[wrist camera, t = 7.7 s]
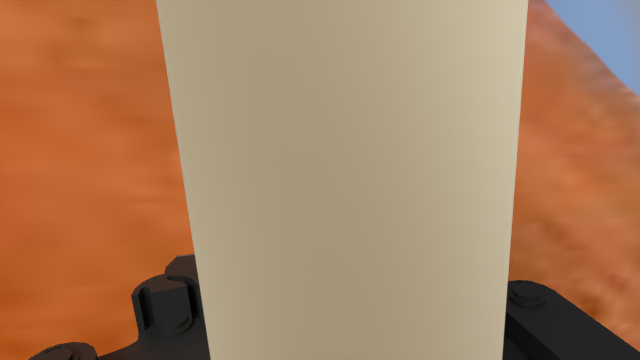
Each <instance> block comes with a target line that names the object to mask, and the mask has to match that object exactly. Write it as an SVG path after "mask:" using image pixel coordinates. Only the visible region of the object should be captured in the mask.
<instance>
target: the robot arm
mask: <svg viewBox="0 0 640 360" xmlns="http://www.w3.org/2000/svg"><path fill="white" fill-rule="evenodd" d="M131 297H132V302H133V307H134V312H135V316H136V321H137V326H138V331H139V335H138V340H137V341H136V342H134V343H133V344H131V345H129V346H127V347H125V348H122V349H120V350H117V351H115V352H112V353H109V354H106V355H103V356H100V357H97V353H96V351H95V349H94V347H92V346H90V345H88V344H86V343H79V342H71V343H65V344H59V345H55V346H53V347H49V348H47V349H45V350H43V351H41V352H40V353H38V354H36V355H35V356H33V357H31V358H30V359H29V360H211V357H210V351H209V344H208V338H207V331H206V324H205V318H204V311H203V305H202V298H201V292H200V285H199V279H198V272H197V265H196V259H195V254H194V255H186V256H178V257H176V258H175V259H174V260H173V261H172V262H171V263H170V264H169V265H168V266H167V267H166V270H165V273H164V274H162V275H158V276H155V277H152V278H150V279H148V280H146V281H144V282H142V283H141V284H140V285H139V286H137V287H136V288H135V289H134V291H133V293H132V295H131ZM502 360H640V352H639V351H637V350H636V349H635V348H633V347H632V346H630V345H629V344H628V343H626V342H625V341H624V340H622V339H621V338H619V337H618V336H617V335H615V334H614V333H612V332H611V331H610V330H608V329H607V328H606V327H604V326H603V325H601V324H600V323H599V322H597V321H596V320H594V319H593V318H592V317H590V316H589V315H587V314H586V313H585V312H583V311H582V310H581V309H579V308H578V307H576V306H575V305H574V304H572V303H571V302H569V301H568V300H567V299H565V298H564V297H562V296H561V295H560V294H558V293H557V292H556V291H554V290H552V289H550V288H548V287H547V286H545V285H542V284H538V283H535V282H533V281H527V280H525V281H524V280H515V281H508V285H507V299H506V312H505V326H504V340H503V354H502Z"/></svg>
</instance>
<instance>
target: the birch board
mask: <svg viewBox="0 0 640 360" xmlns="http://www.w3.org/2000/svg"><path fill="white" fill-rule="evenodd" d="M156 3H157V10H158V16H159V23H160V29H161V36H162V42H163V49H164V55H165V62H166V69H167V75H168V82H169V88H170V95H171V101H172V108H173V115H174V121H175V128H176V134H177V141H178V147H179V154H180V160H181V167H182V174H183V180H184V187H185V193H186V200H187V206H188V213H189V220H190V226H191V233H192V239H193V246H194V252H195V259H196V265H197V272H198V279H199V285H200V292H201V298H202V305H203V311H204V318H205V324H206V331H207V338H208V344H209V351H210V357H211V360H502V354H503V340H504V326H505V312H506V299H507V285H508V271H509V257H510V243H511V229H512V216H513V202H514V188H515V174H516V160H517V146H518V132H519V119H520V105H521V91H522V77H523V63H524V49H525V36H526V22H527V8H528V0H156Z"/></svg>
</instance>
